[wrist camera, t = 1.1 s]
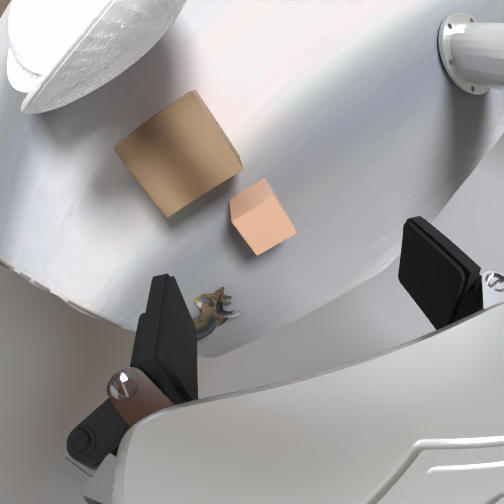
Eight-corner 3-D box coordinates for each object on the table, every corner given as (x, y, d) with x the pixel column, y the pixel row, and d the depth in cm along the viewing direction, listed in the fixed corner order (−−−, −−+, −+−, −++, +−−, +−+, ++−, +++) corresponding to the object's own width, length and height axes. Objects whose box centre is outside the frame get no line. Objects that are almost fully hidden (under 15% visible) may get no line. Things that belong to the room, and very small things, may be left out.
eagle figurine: (184, 277, 39) (164, 328, 42) (215, 310, 35) (191, 363, 37) (225, 278, 45) (203, 324, 47) (256, 306, 41) (230, 354, 43)
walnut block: (195, 89, 28) (190, 91, 23) (239, 155, 33) (243, 169, 28) (129, 136, 30) (112, 148, 25) (174, 196, 34) (167, 217, 29)
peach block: (265, 177, 34) (274, 195, 29) (285, 209, 37) (297, 232, 32) (229, 199, 35) (231, 221, 30) (251, 229, 38) (257, 255, 33)
